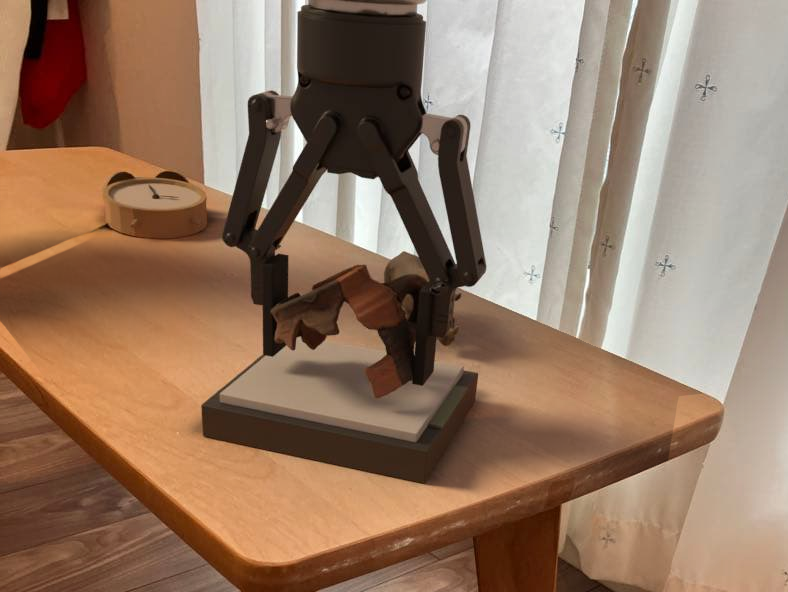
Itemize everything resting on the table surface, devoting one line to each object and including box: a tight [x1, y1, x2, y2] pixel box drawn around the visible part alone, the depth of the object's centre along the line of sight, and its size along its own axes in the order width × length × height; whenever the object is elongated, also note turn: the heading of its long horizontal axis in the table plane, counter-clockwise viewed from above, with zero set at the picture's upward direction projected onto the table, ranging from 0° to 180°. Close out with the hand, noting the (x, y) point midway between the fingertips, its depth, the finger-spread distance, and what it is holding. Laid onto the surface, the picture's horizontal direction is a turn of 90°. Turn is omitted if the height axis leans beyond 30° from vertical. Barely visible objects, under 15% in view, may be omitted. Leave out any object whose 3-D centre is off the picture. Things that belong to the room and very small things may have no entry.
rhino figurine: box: [383, 250, 462, 347], centre depth 83 cm, size 4×14×6 cm, turn 21°
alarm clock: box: [101, 169, 208, 239], centre depth 108 cm, size 11×5×15 cm
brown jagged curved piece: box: [270, 264, 428, 398], centre depth 66 cm, size 12×10×8 cm
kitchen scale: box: [200, 336, 479, 484], centre depth 68 cm, size 16×14×3 cm
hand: (347, 363), depth 67 cm, fingers closed on brown jagged curved piece, 10 cm apart
